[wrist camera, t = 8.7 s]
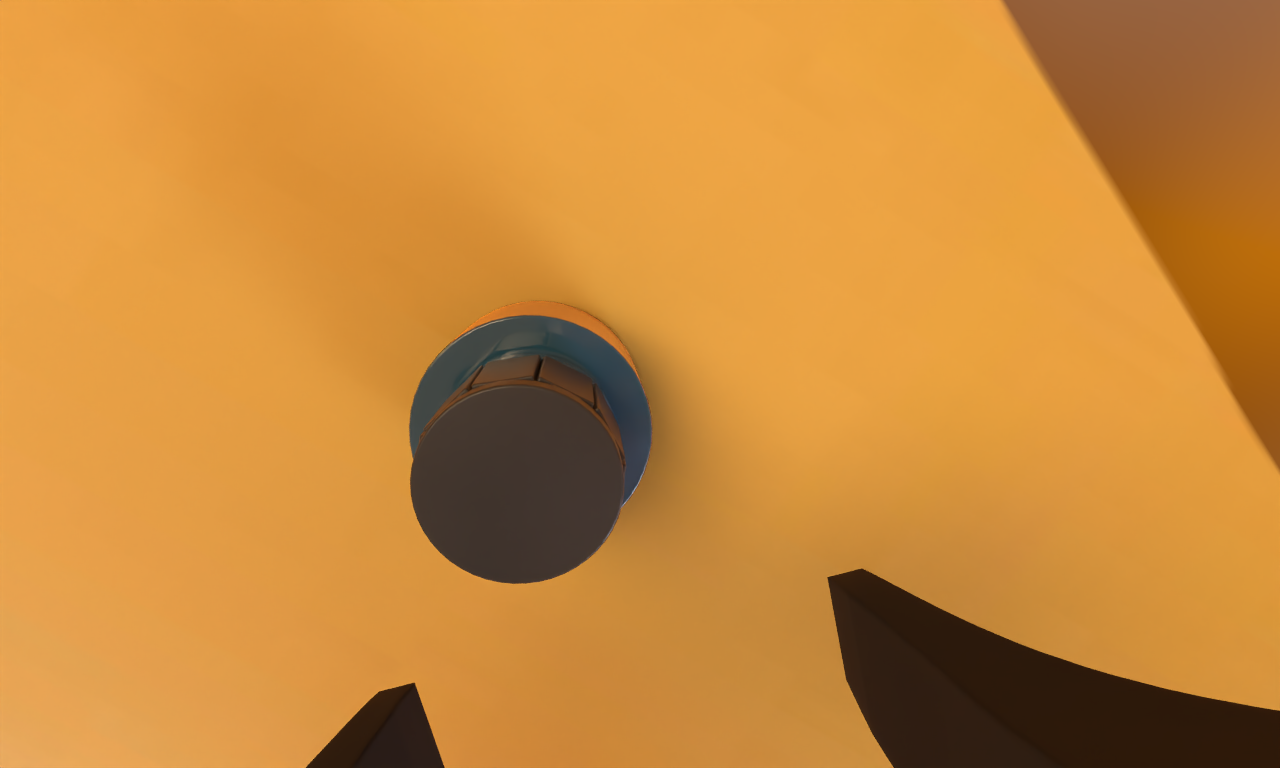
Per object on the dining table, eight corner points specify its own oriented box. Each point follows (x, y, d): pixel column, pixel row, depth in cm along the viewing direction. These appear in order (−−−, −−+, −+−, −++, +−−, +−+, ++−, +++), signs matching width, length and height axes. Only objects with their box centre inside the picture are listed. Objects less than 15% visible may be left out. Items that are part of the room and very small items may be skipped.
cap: (570, 553, 17) (568, 617, 14) (406, 479, 16) (371, 531, 14) (650, 407, 17) (665, 443, 14) (483, 323, 16) (462, 344, 13)
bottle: (584, 528, 21) (585, 652, 15) (403, 445, 20) (323, 542, 14) (676, 359, 21) (719, 417, 14) (491, 262, 19) (449, 279, 13)
